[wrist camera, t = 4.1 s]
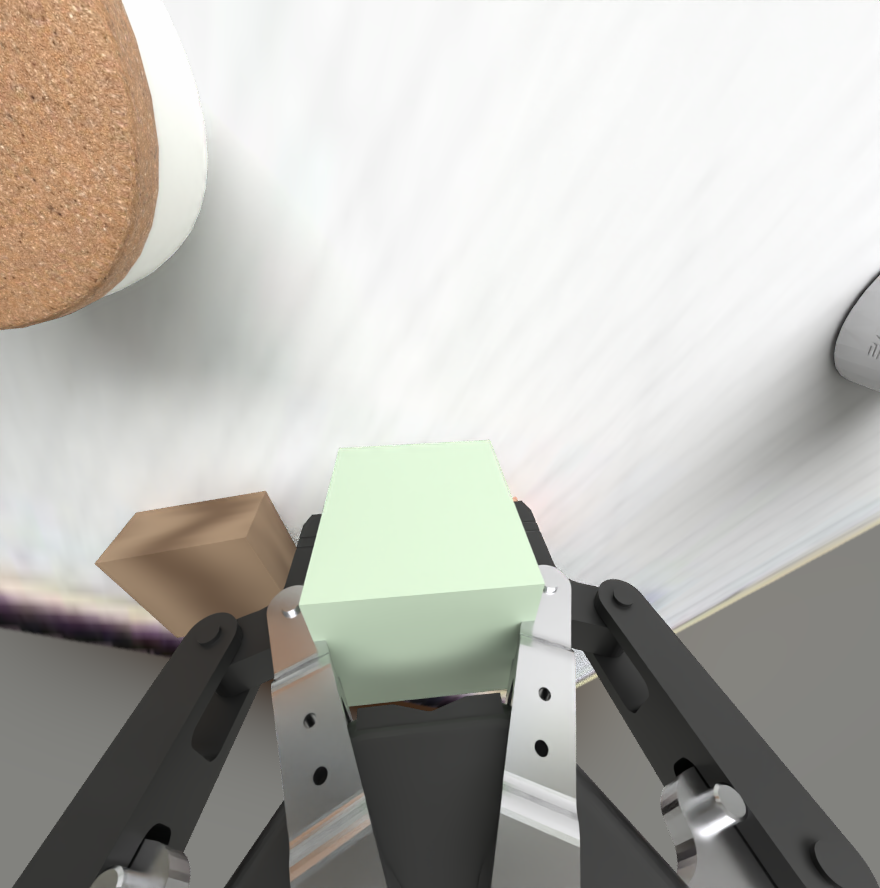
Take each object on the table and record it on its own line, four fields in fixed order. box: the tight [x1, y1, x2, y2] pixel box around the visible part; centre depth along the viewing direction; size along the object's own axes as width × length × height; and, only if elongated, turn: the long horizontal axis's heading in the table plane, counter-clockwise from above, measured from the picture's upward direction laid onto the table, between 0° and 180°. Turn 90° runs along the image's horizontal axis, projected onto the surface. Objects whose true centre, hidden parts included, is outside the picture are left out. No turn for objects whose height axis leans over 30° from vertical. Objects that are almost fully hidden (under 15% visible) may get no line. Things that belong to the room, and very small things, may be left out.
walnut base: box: [95, 491, 297, 638], centre depth 23 cm, size 8×8×4 cm
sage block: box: [299, 440, 545, 706], centre depth 12 cm, size 6×6×6 cm
